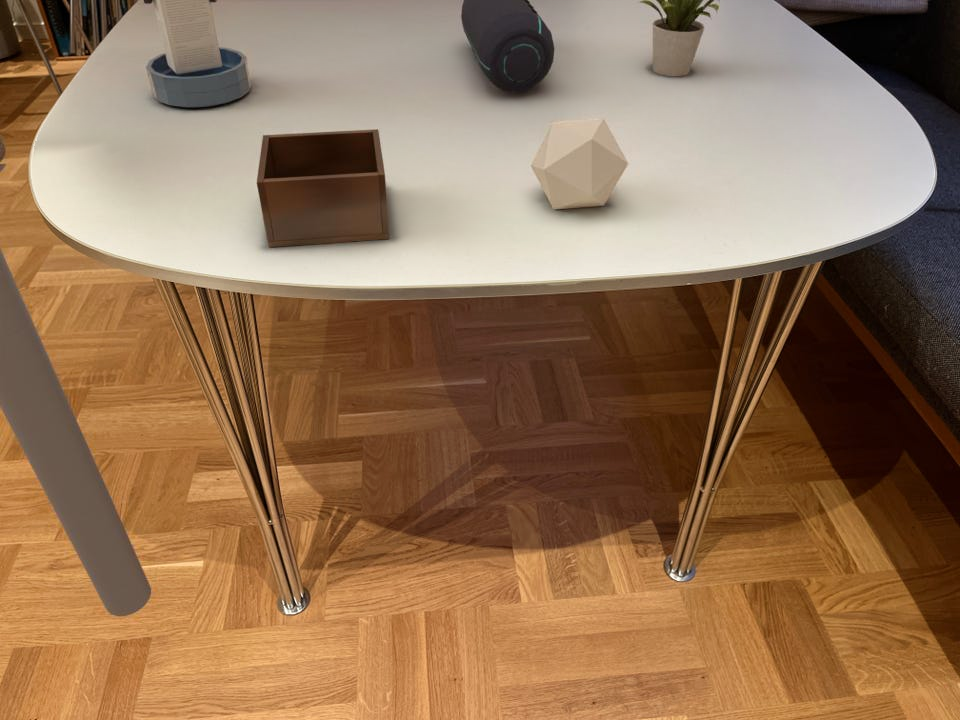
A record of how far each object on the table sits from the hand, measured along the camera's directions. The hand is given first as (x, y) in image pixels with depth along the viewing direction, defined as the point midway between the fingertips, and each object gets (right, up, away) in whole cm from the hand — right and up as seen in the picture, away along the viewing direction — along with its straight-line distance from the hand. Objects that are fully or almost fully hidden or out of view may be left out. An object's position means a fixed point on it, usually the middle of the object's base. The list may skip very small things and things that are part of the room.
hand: (181, 1), depth 94 cm
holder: (+22, -30, -18) cm, 41 cm away
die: (+46, -28, -15) cm, 56 cm away
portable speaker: (+40, -3, +16) cm, 43 cm away
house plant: (+65, -3, +16) cm, 67 cm away
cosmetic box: (0, -6, +5) cm, 8 cm away
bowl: (0, -9, +7) cm, 11 cm away
